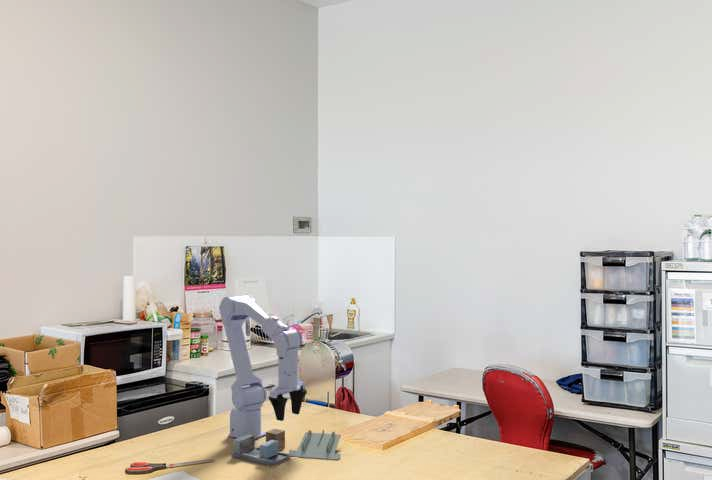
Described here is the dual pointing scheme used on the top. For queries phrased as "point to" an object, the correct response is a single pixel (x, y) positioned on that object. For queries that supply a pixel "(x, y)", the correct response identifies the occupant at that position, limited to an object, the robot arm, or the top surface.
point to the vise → (254, 452)
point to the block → (276, 437)
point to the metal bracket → (317, 446)
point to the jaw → (269, 449)
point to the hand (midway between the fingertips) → (288, 416)
